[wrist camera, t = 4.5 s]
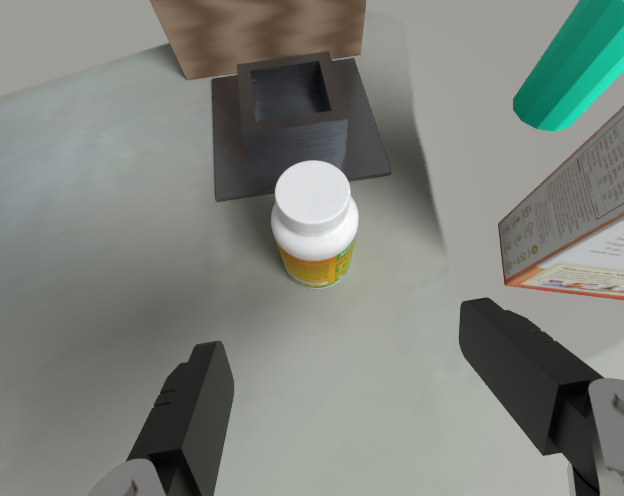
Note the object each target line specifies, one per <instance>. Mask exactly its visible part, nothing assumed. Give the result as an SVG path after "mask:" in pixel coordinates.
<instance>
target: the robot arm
mask: <svg viewBox="0 0 624 496" xmlns="http://www.w3.org/2000/svg"><path fill="white" fill-rule="evenodd" d="M459 344H460V348H461V351H462V353H463V355H464V357H465V358H466V360H467V361H468V362H469V364H470V365H471V366H472V367H473V369H474V370H475V371H476V372H477V374H478V375H479V376H480V377H481V379H482V380H483V381H484V382H485V384H486V385H487V386H488V387H489V389H490V390H491V391H492V392H493V394H494V395H495V396H496V397H497V399H498V400H499V401H500V402H501V404H502V405H503V406H504V407H505V409H506V410H507V411H508V413H509V414H510V415H511V416H512V418H513V419H514V420H515V421H516V423H517V424H518V425H519V426H520V428H521V429H522V430H523V431H524V433H525V434H526V435H527V436H528V438H529V439H530V440H531V441H532V443H533V444H534V445H535V446H536V448H537V449H538V450H539V451H540V453H541V454H542V455H543V456H545V455H551V454H556V453H562V454H563V455H564V456H565V457H566V458H567V459H568V461H569V463H568V467H567V473H568V481H569V489H570V496H624V380H619V379H612V378H604V377H602V376H601V375H600V374H599V373H597V372H596V371H595V370H593V369H592V368H591V367H589V366H588V365H587V364H586V363H584V362H583V361H582V360H580V359H579V358H578V357H576V356H575V355H574V354H573V353H571V352H570V351H569V350H567V349H566V348H565V347H563V346H562V345H561V344H559V343H558V342H557V341H554V340H553V338H552V337H550V336H549V335H548V334H546V333H545V332H542V331H541V329H540V328H538V327H537V326H536V325H535V324H533V323H532V322H531V321H529V320H528V319H527V318H525V317H523V316H520V315H518V314H516V313H513V312H512V311H509V310H503V309H502V308H501V307H500V306H499V305H497V304H496V303H495V302H493V301H492V300H491V299H489V298H481V299H474V300H468V301H463V302H462V304H461V308H460V326H459ZM233 397H234V380H233V375H232V372H231V369H230V366H229V362H228V359H227V356H226V353H225V349H224V346H223V344H222V342H221V341H214V342H208V343H202V344H197V345H196V346H195V347H194V349H193V351H192V354H191V356H190V358H189V361H188V362H186V363H180V364H179V365H178V366H177V368H176V369H175V370H174V371H173V372H172V373H171V374H170V375H169V376H168V377H167V379H166V381H165V383H164V385H163V387H162V389H161V391H160V395H158V397H157V399H156V402H155V404H154V408H152V410H151V412H150V414H149V416H148V418H147V420H146V422H145V424H144V426H143V428H142V430H141V432H140V434H139V436H138V438H137V440H136V442H135V444H134V446H133V448H132V450H131V452H130V454H129V456H128V458H127V460H126V462H125V463H123V464H120V465H119V466H117V467H115V468H114V469H112V470H111V471H110V472H108V473H107V474H106V475H105V476H104V477H103V478H102V479H101V480H100V481H99V482H98V483H97V484H96V485H95V486H94V487H93V489H92V490H91V491H90V493H89V494H88V496H213V495H214V490H215V486H216V481H217V476H218V471H219V466H220V461H221V456H222V451H223V446H224V441H225V436H226V431H227V427H228V422H229V417H230V412H231V407H232V402H233Z"/></svg>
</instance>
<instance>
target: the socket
mask: <svg viewBox="0 0 624 496" xmlns="http://www.w3.org/2000/svg"><path fill="white" fill-rule="evenodd" d="M212 88H213V120H214V152H215V184H216V200H217V202H220V201H226V200H233V199H239V198H245V197H252V196H258V195H265V194H271V193H275V187H276V184H277V181H278V179H279V178H280V176H281V175H282V174H283V173H284V172H285V171H286V170H287V169H288V168H289V167H291V166H293V165H295V164H297V163H300V162H304V161H311V160H316V161H323V162H327V163H330V164H332V165H334V166H335V167H337V168H338V169H339V170H341V171H342V172H343V174H344V175H345V176H346V178H347V180H348V181H354V180H360V179H367V178H373V177H379V176H386V175H391V169H390V166H389V163H388V160H387V157H386V154H385V151H384V148H383V144H382V141H381V138H380V135H379V132H378V129H377V126H376V123H375V120H374V117H373V114H372V111H371V108H370V105H369V102H368V99H367V96H366V93H365V90H364V87H363V84H362V81H361V78H360V75H359V72H358V69H357V66H356V63H355V60H354V58H351V59H344V60H337V61H332V59H331V55H330V52H329V51H326V52H319V53H312V54H305V55H298V56H291V57H284V58H277V59H270V60H264V61H257V62H250V63H243V64H237V75H235V76H228V77H221V78H214V79H212Z"/></svg>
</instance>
